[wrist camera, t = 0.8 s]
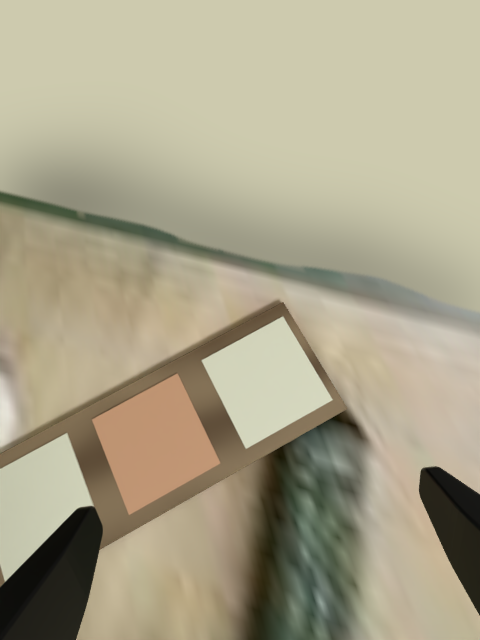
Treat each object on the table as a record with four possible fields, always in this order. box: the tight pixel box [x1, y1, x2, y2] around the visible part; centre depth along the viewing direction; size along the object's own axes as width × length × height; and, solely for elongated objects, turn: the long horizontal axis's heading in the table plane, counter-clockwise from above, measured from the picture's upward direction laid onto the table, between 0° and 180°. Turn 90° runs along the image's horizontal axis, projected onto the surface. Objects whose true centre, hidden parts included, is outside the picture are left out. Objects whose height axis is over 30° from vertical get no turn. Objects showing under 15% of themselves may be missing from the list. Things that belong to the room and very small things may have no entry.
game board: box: [0, 302, 347, 586], centre depth 23 cm, size 9×26×1 cm, turn 118°
